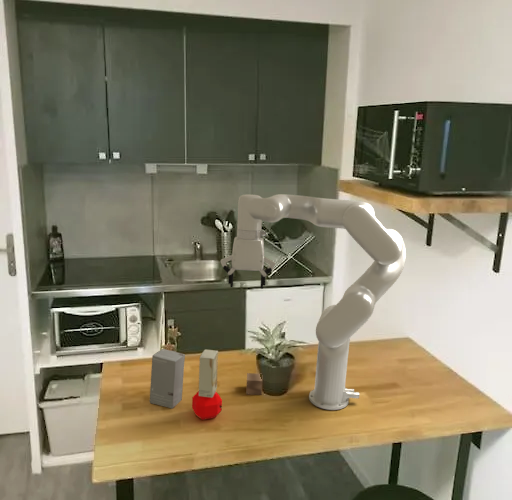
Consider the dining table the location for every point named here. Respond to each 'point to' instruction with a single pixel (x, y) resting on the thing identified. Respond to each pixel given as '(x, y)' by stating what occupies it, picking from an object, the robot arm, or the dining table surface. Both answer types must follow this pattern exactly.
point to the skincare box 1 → (167, 378)
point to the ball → (206, 406)
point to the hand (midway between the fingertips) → (246, 286)
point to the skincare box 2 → (208, 373)
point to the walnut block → (254, 384)
